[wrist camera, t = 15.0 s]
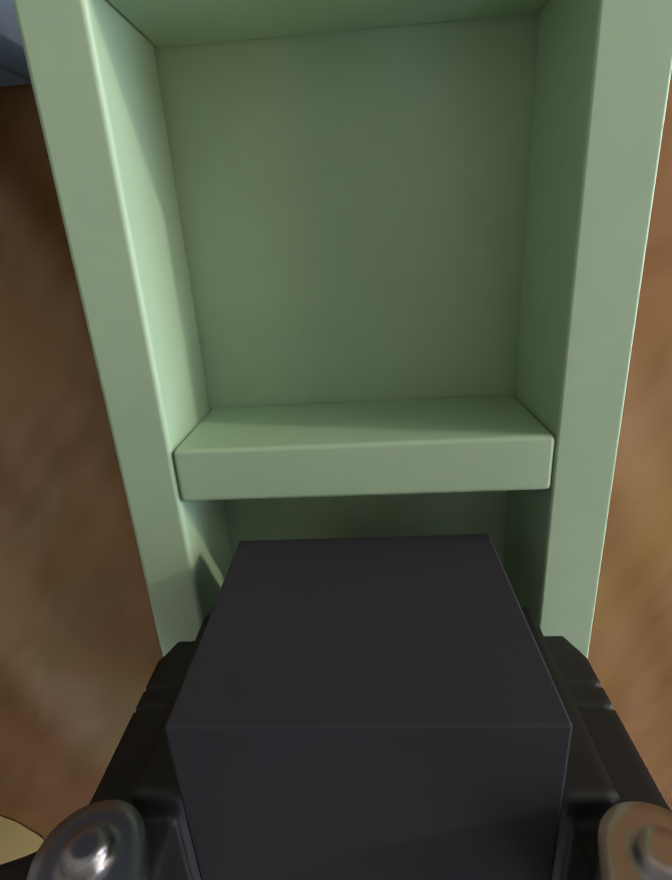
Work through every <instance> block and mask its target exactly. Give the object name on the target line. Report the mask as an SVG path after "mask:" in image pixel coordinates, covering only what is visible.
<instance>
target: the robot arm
mask: <svg viewBox="0 0 672 880" xmlns="http://www.w3.org/2000/svg"><path fill="white" fill-rule="evenodd" d="M521 609H522V611H523V613H524V616H525V618H526V620H527V623H528V625H529V627H530V629H531V632H532V634H533V636H534V639H535V641H536V643H537V645H538V648H539V650H540V652H541V655H542V657H543V659H544V661H545V664H546V666H547V668H548V670H549V673H550V675H551V677H552V680H553V682H554V684H555V686H556V689H557V691H558V693H559V696H560V698H561V700H562V702H563V705H564V707H565V709H566V712H567V714H568V716H569V718H570V721H571V723H572V734H571V742H570V749H569V756H568V763H567V770H566V778H565V785H564V792H563V799H562V806H561V814H560V821H559V828H558V835H557V842H556V849H555V857H554V864H553V871H552V878H551V880H672V811H671V810H670V808H669V807H668V805H667V804H666V802H665V800H664V799H663V797H662V795H661V793H660V792H659V790H658V788H657V786H656V784H655V782H654V781H653V779H652V777H651V775H650V773H649V771H648V770H647V768H646V766H645V764H644V762H643V760H642V759H641V757H640V755H639V753H638V751H637V749H636V748H635V746H634V744H633V742H632V740H631V739H630V737H629V735H628V733H627V731H626V729H625V728H624V726H623V724H622V722H621V720H620V718H619V717H618V715H617V713H616V711H615V710H613V709H612V704H611V702H610V700H609V698H608V696H607V695H606V693H605V691H604V689H603V688H601V686H600V682H599V680H598V678H597V676H596V674H595V673H594V671H593V669H592V667H591V665H590V663H589V662H588V660H587V658H586V657H585V656H584V655H583V654H582V653H581V652H580V651H579V650H578V649H576V648H575V647H574V646H573V645H572V644H571V643H570V642H569V641H568V640H567V639H565V638H564V637H563V636H543V633H542V631H541V629H540V627H539V625H538V623H537V621H536V619H535V616H534V614H533V612H532V611H531V609H530V608H528V607H522V608H521ZM210 614H211V613H208V614H207V615H206V616H205V618H204V620H203V623H202V625H201V627H200V630H199V632H198V635H197V637H196V639H195V641H181V642H178V643H177V644H176V645H175V646H174V647H173V648H172V649H171V650H170V651H169V652H168V653H167V654H166V655H165V656H164V657H163V658H162V659H161V660H160V661H159V662H158V664H157V666H156V668H155V670H154V672H153V674H152V676H151V678H150V680H149V682H148V684H147V687H146V692H144V693H143V695H142V697H141V699H140V701H139V703H138V705H137V707H136V708H137V709H136V713H133V716H132V718H131V720H130V722H129V724H128V726H127V728H126V730H125V732H124V734H123V736H122V738H121V740H120V742H119V745H118V747H117V749H116V751H115V753H114V755H113V757H112V759H111V761H110V763H109V765H108V767H107V769H106V772H105V774H104V776H103V778H102V780H101V782H100V784H99V786H98V788H97V790H96V792H95V794H94V796H93V798H92V800H91V802H90V803H89V805H87V806H85V807H83V808H81V809H79V810H77V811H76V812H74V813H73V814H71V815H70V816H68V817H67V818H66V819H64V820H63V821H62V822H61V823H60V824H58V825H57V827H56V828H55V829H54V830H53V831H52V832H51V833H50V834H49V835H48V836H47V838H46V839H45V840H44V841H43V843H42V844H41V846H40V848H39V849H38V851H36V852H34V853H32V854H29V855H27V856H24V857H22V858H19V859H16V860H13V861H10V862H7V863H4V864H1V865H0V880H201V877H200V873H199V869H198V865H197V861H196V857H195V853H194V848H193V844H192V840H191V836H190V832H189V828H188V824H187V820H186V815H185V811H184V807H183V803H182V799H181V795H180V791H179V787H178V782H177V778H176V774H175V770H174V766H173V762H172V758H171V754H170V749H169V745H168V741H167V737H166V733H165V724H166V721H167V719H168V717H169V714H170V712H171V709H172V707H173V704H174V702H175V699H176V697H177V694H178V692H179V690H180V687H181V685H182V682H183V680H184V677H185V675H186V672H187V670H188V668H189V665H190V663H191V660H192V658H193V655H194V653H195V650H196V648H197V646H198V643H199V641H200V638H201V636H202V633H203V631H204V628H205V626H206V623H207V621H208V619H209V616H210Z"/></svg>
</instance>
